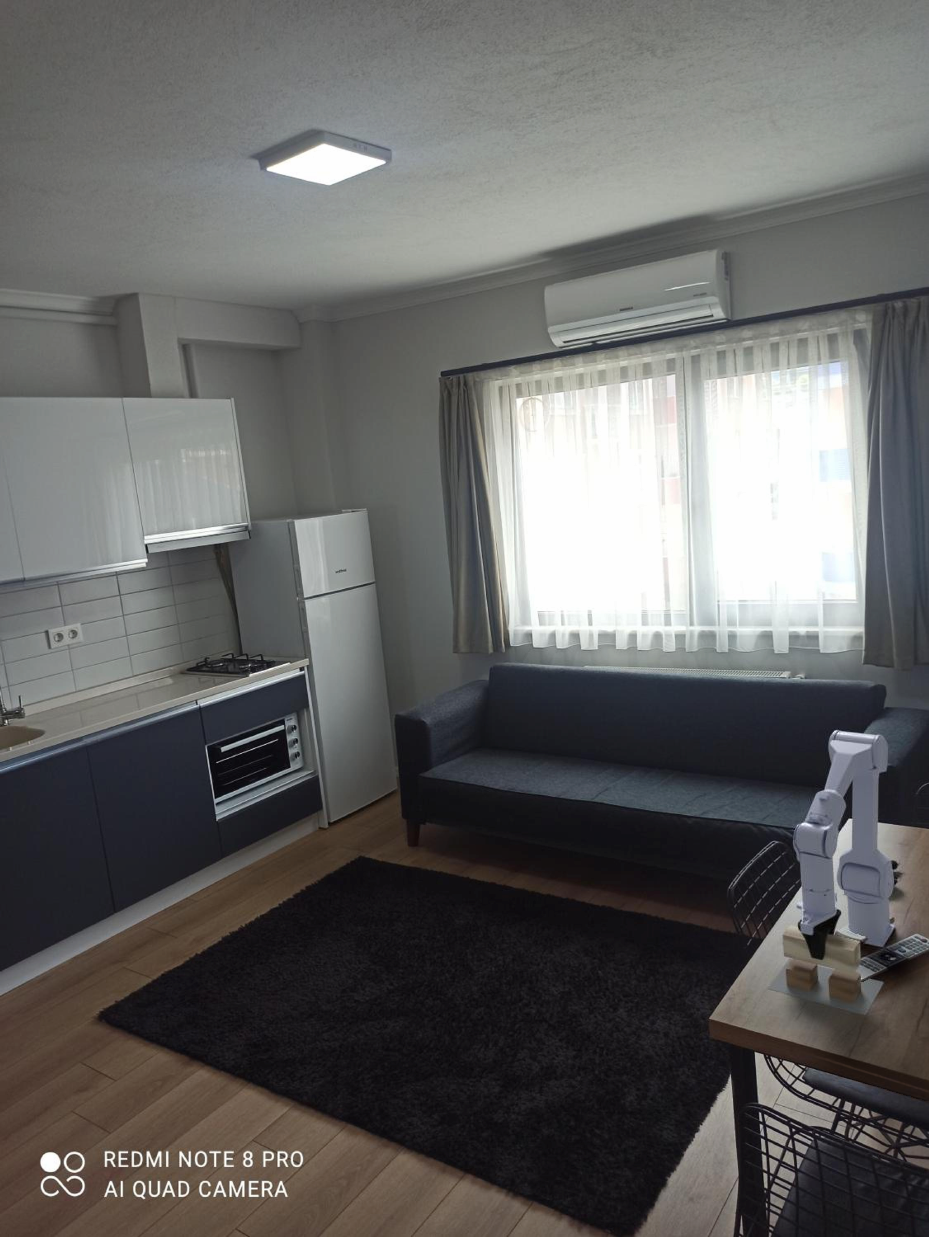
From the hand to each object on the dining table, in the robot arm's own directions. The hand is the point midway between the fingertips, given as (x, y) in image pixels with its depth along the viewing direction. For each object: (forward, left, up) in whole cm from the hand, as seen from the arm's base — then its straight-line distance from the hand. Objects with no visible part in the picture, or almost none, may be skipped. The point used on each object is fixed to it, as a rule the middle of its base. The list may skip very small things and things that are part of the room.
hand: (821, 952), depth 174 cm
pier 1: (0, -4, -7) cm, 8 cm away
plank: (0, 0, -2) cm, 2 cm away
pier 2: (0, +4, -7) cm, 8 cm away
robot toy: (-49, -4, -8) cm, 49 cm away
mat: (-1, 0, -8) cm, 8 cm away
